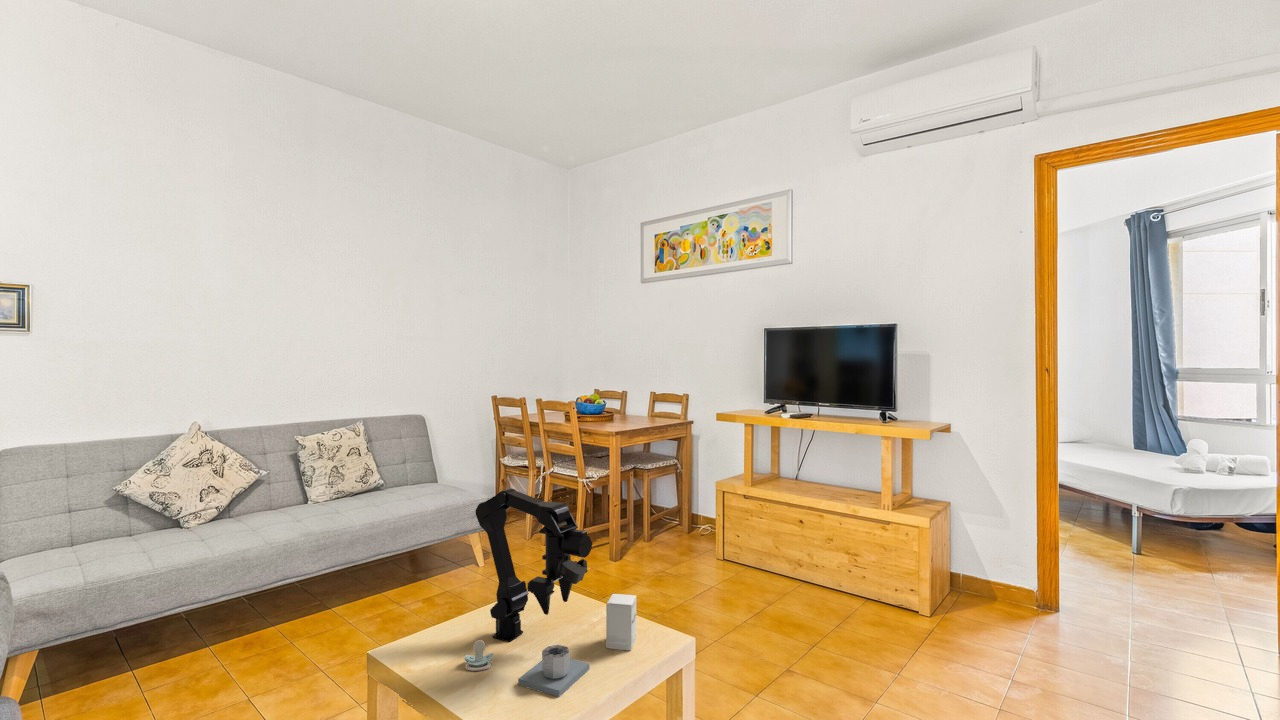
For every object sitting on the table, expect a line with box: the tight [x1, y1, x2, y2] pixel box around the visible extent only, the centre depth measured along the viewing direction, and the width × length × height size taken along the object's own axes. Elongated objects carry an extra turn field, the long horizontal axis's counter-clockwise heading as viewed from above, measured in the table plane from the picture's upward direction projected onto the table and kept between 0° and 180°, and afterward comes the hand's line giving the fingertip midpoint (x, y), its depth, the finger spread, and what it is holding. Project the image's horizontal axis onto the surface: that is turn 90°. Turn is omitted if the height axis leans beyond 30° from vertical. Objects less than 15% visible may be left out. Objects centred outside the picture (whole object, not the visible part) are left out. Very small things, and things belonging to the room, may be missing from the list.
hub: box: [541, 644, 570, 679], centre depth 148 cm, size 6×6×5 cm
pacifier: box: [464, 639, 494, 672], centre depth 155 cm, size 7×6×6 cm
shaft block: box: [517, 657, 590, 698], centre depth 149 cm, size 12×14×4 cm
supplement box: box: [605, 593, 637, 651], centre depth 167 cm, size 7×7×13 cm
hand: (556, 607), depth 162 cm, fingers open, 9 cm apart
